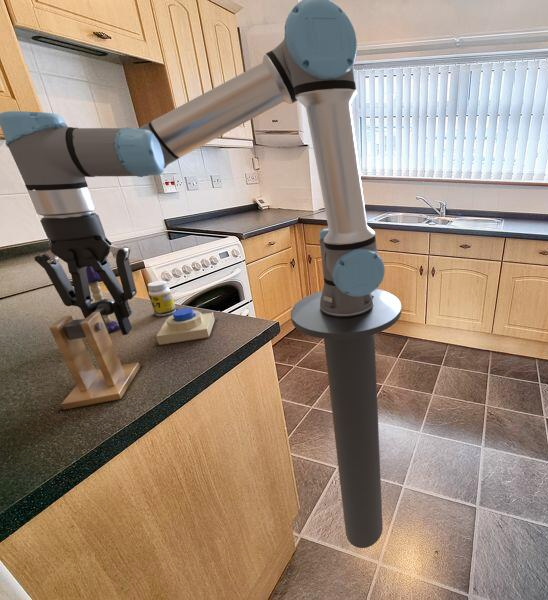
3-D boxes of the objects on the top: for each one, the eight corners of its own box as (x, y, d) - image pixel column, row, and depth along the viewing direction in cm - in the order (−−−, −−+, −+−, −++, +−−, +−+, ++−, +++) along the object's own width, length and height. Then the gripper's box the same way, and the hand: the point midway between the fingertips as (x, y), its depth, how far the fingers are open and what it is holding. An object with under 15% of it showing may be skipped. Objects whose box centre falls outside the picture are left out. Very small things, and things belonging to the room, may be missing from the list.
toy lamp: (115, 323, 84) (90, 259, 77) (128, 325, 83) (104, 260, 76) (94, 332, 80) (65, 265, 73) (107, 335, 78) (80, 267, 72)
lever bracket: (91, 375, 64) (61, 310, 59) (140, 367, 67) (116, 304, 61) (63, 410, 56) (25, 337, 50) (120, 399, 58) (90, 328, 52)
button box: (214, 320, 85) (211, 306, 83) (209, 337, 77) (204, 321, 76) (169, 326, 82) (164, 312, 80) (158, 344, 74) (153, 329, 73)
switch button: (196, 313, 81) (194, 307, 80) (192, 320, 77) (190, 313, 76) (177, 316, 79) (175, 309, 79) (172, 323, 76) (170, 316, 75)
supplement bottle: (151, 314, 88) (141, 284, 85) (168, 307, 92) (159, 278, 89) (163, 317, 87) (153, 287, 83) (180, 310, 91) (171, 281, 87)
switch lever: (102, 312, 67) (96, 297, 65) (121, 310, 68) (116, 295, 66) (67, 342, 55) (59, 325, 54) (90, 339, 56) (83, 322, 55)
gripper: (132, 208, 64) (167, 319, 73) (22, 213, 59) (75, 331, 68) (116, 215, 57) (157, 335, 67) (-9, 221, 52) (54, 350, 62)
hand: (115, 333), depth 67 cm, fingers closed on switch lever, 3 cm apart
